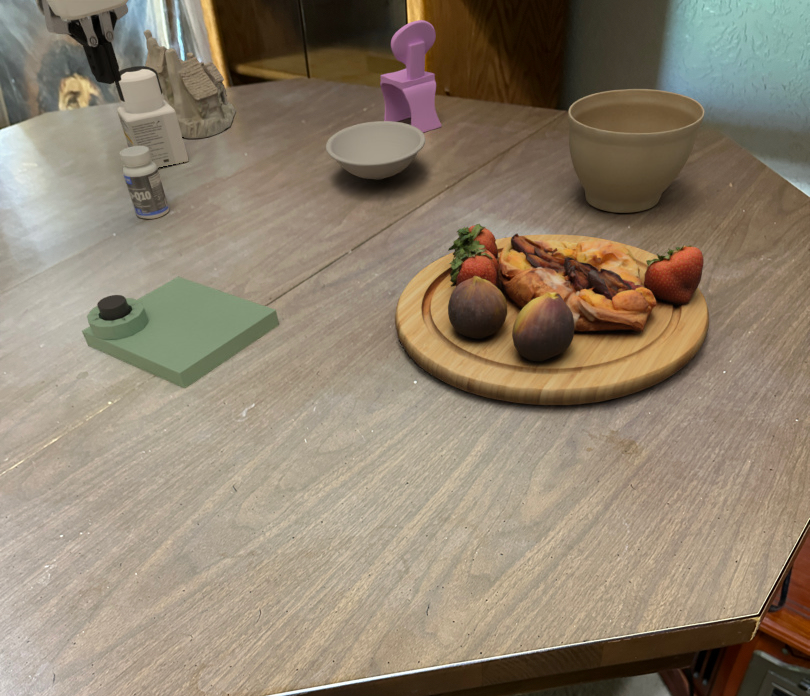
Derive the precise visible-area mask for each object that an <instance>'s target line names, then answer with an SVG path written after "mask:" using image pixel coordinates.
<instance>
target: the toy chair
mask: <svg viewBox="0 0 810 696" xmlns="http://www.w3.org/2000/svg"><path fill="white" fill-rule="evenodd" d="M436 36H437V35H436V29H435V27H434V26H433V24H431V23H430V22H429V21H427V20H424V19H418V20H414V21H411V22H409V23H407V24H405V25H403V26H401V28H399V29H398V30H397V31H395V33H394V34H393V36H392V38H391V40H390V49H391V52H392V54H393V55H394V58H395V59H396V60H397V61H398V62H401V63H402V64H403V65H405V68H403V69H400V70H398V71H394V72H387V73H384V74H381V75H380V82H379V85H380V90H381V93H382V95H383V101H384V116H383V121H392V122H400V121H403V120H407V119H410V125H412V126H414V127H416V128H418V129H419V130H421V131H422V132H423V133H426V132H429V131H433V130H436V129H439V128H442V123H441V121H440V119H439V115H438V113H437V111H436V105H435V104H436V103H435V100H436V92H437V91H436V90H437V82H436V78H435V76H436V74H435V73H433V72H429V71H425V69H426V68H425V67H426V54H427V53H428V52H429V50H430V49H431V48H432V47H433V46H434V44H435V43H436V42H435V41H436Z"/></svg>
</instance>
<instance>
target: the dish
mask: <svg viewBox="0 0 810 696" xmlns="http://www.w3.org/2000/svg"><path fill="white" fill-rule="evenodd" d="M425 144H426V136H425V134H424V132H422V131H421V130H419V129H418V128H416V127H414V126H412V125H411V124H408V123H404V122H400V121H397V122H392V121H384V120H381V121H380V120H379V121H378V120H377V121H368V122H362V123H357V124H354V125H350V126H347V127H345V128H343V129H340V130H339V131H337V132H335V133H333V135H331V136H330V137H329V138H328V140H327V141H326V144H325V150H326V153H327V155H329V157H330V158H332V159H333V160H335V161H336V163H338V165H340V166H341V168H342V169H344V170H345V171H347V173H350V174H352V175H353V176H356V177H358V178H362V179H368V180H383V179H386V178H390V177H393V176H395V175H397V174H399V173H401V172H402V171H404V170H405V169H406V168H407V167H408V166H410V164H411V163H412V162H413V161H414V160H415V158H416V157H417V155H418V154H419V152H420V151H421V150H422V149H423V148H424V146H425Z"/></svg>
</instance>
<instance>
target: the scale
mask: <svg viewBox="0 0 810 696" xmlns="http://www.w3.org/2000/svg"><path fill="white" fill-rule="evenodd" d="M125 298H126V297H125ZM126 301H127V303H128V306H129V309H130V311H131V312H130V314H129V315H127V316H125V317H123V318H121V319H117V320H113V321H105V320H103V318H102V316H101V314H100V311H99V309H98V306H97V305H96V306H94V307H93V308H92V309H91V310H90V311H89V313H87V315H86V318H87V322H88V325H89V326H88V327H86V328H85V329H83V330H81V333H82V335H83V337H84V339H85V342H86V344H87V346H88V347H90V348H93V349H95V350H97V351H99V352H101V353H103V354H106V355H108V356H110V357H113V358H115V359H117V360H119V361H122V362H124V363H126V364H128V365H131V366H132V367H136V368H137V369H139V370H142V371H145V372H147V373H148V374H151V375H154V376H156V377H158V378H160V379H163V380H165V381H167V382H169V383H171V384H174V385H176V386H178V387H181V388H183V389H186V388H188V387H189V386H191V385H192V384H194V383H195V382H196V381H197V382H198V380H200V379H201V378H203V377H204V376H207V374H209V373H210V372H212V371H213V370H215V369H216V368H218V367H219V366H220V365H222V364H223V363H225V362H226V361H228V360H229V359H231V358H233V357H234V356H236V355H237V354H239V353H240V352H241V351H243V350H244V349H246V348H247V347H249V346H250V345H252V344H253V343H255V342H256V341H258V340H259V339H261V338H262V337H263V336H265V335H267V334H268V333H269V332H271V331H272V330H274V329H276V327H278V326H280V322H279V318H278V317H279V316H278V313H277V310H276V309H275V308H273V307H269V306H266V305H264V304H260V303H257V302H254V301H252V300H249V299H245V298H243V297H239V296H237V295H234V294H231V293H229V292H225V291H222V290H220V289H216V288H213V287H211V286H208V285H204V284H202V283H199V282H195V281H193V280H189V279H186V278H184V277H182V276H177V277H175V278H173V279H171V280H169V281H168V282H165V283H164V284H162V285H161V286H159V287H157V288H155V289H154V290H152V291H150V292H148V293H146V294H144V295H143V296H141V297H139V298H138V299H135V298H133V297H127V298H126Z"/></svg>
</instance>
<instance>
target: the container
mask: <svg viewBox="0 0 810 696" xmlns="http://www.w3.org/2000/svg"><path fill="white" fill-rule="evenodd" d="M119 73H120V76H121V81H118V82H116V81H114V85H115V87H116V91H117V94H118V97H119V101H120V104H121V106H119V107H117V109H116V112H117V116H118V118H119V121H120V124H121V128H122V131H123V134H124V138H125V140H126V143H127V147H133V146H145V147H148V148H149V151H150V154H151V158H152V160H151V161H152V162H154V163H155V164H156V166H157V168H158V167H163V166H167V167H169V166H168V165H172V166H174V165H173V164H176V165H180V164H184V163H187V162H188V161H189V157H188V154H187V150H186V146H185V143H184V138H182V134H181V131H180V127H179V123H178V119H177V116H176V112H175V110H174V109H173V108H172V107H171V106H170V105H169V104H168V103H167V102H166V101H165V100H164V96H163V93H162V89H161V85H160V82H159V78H158V74H157V72H156V71H155V70H154V69H153V68H150V67H147V66H145V65H138V66H137V65H135V66H129V67H126V68H123V69H121V70H119ZM183 162H184V163H183ZM179 163H180V164H179ZM163 168H164V167H163Z"/></svg>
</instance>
